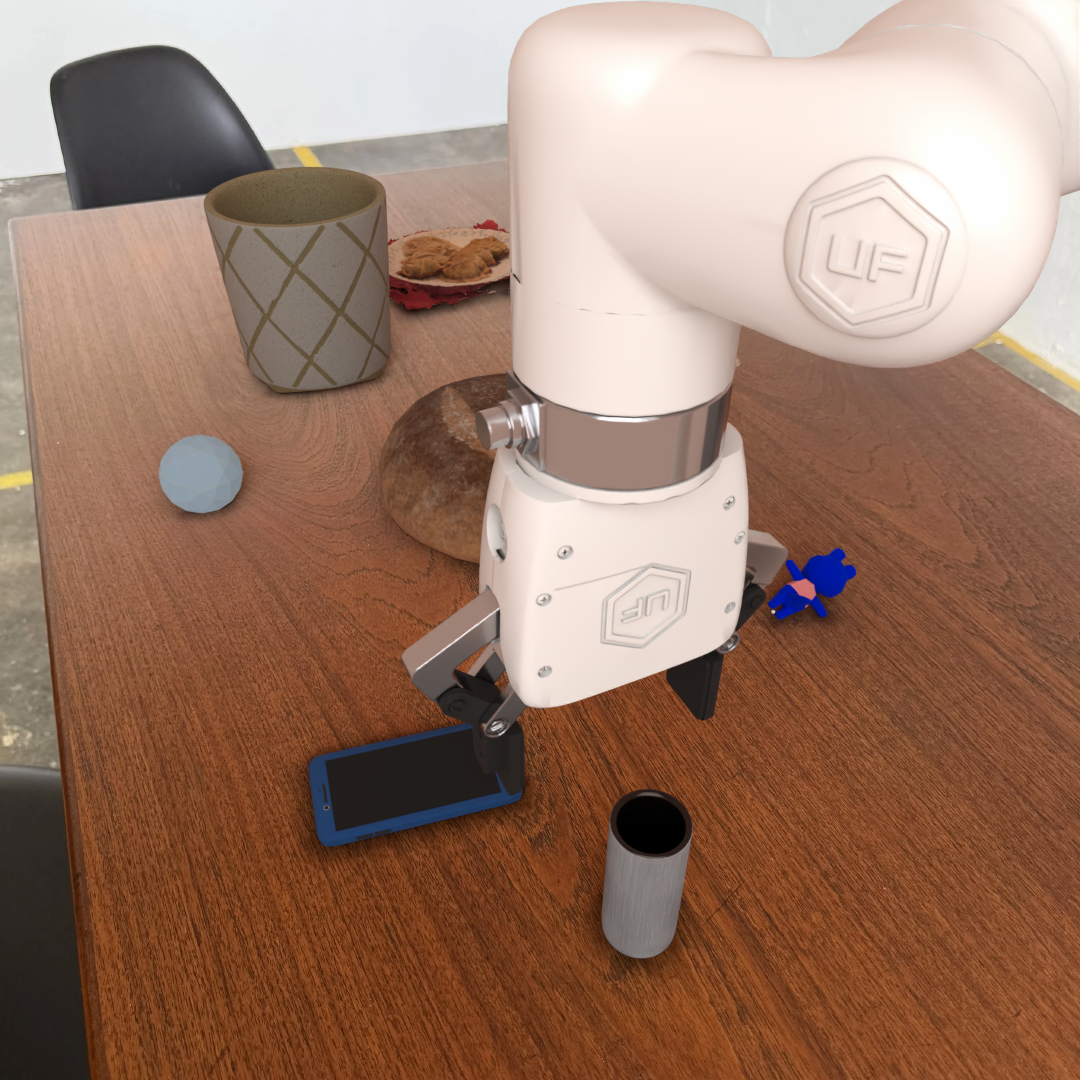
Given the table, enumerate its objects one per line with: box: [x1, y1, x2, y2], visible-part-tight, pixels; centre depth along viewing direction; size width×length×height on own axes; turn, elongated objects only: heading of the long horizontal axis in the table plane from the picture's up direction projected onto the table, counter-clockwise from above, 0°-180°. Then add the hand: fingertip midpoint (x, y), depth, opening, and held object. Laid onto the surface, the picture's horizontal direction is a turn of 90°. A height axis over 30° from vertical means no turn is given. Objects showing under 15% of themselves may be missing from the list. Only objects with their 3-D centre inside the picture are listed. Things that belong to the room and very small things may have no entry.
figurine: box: [767, 547, 857, 621], centre depth 80 cm, size 5×8×5 cm, turn 133°
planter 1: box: [203, 166, 392, 394], centre depth 109 cm, size 19×19×20 cm
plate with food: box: [388, 219, 510, 311], centre depth 137 cm, size 24×26×4 cm
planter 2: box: [601, 788, 694, 959], centre depth 56 cm, size 4×4×10 cm
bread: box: [378, 372, 507, 565], centre depth 91 cm, size 26×27×10 cm
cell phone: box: [308, 722, 524, 848], centre depth 67 cm, size 7×14×1 cm, turn 107°
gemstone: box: [157, 434, 244, 514], centre depth 93 cm, size 8×8×5 cm
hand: (599, 733), depth 44 cm, fingers open, 9 cm apart
